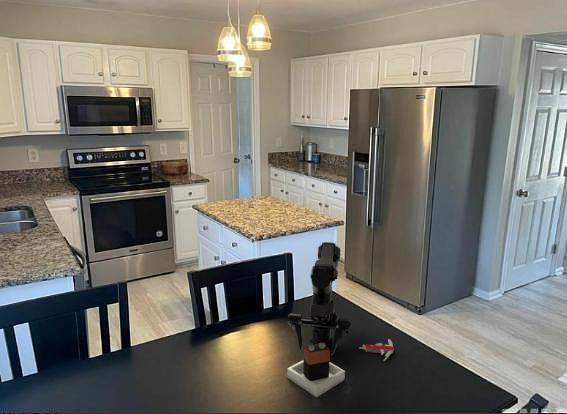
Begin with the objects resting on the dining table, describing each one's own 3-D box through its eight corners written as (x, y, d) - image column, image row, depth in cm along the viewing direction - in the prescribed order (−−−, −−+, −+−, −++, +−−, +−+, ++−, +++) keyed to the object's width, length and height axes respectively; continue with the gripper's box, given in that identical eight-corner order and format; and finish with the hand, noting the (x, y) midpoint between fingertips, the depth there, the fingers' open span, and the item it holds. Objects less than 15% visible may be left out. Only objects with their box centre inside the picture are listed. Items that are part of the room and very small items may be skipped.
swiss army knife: (360, 362, 132) (360, 357, 132) (357, 339, 146) (357, 334, 145) (396, 365, 131) (397, 359, 131) (390, 341, 145) (391, 336, 144)
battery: (329, 377, 123) (330, 347, 120) (308, 382, 120) (309, 351, 118) (323, 369, 127) (324, 339, 124) (302, 373, 124) (303, 343, 122)
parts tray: (315, 362, 132) (315, 353, 131) (344, 379, 123) (344, 370, 122) (287, 377, 124) (287, 368, 123) (316, 397, 115) (316, 387, 115)
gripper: (288, 288, 124) (281, 341, 116) (352, 294, 120) (348, 349, 112) (292, 301, 133) (286, 351, 125) (351, 307, 130) (348, 358, 121)
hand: (316, 352), depth 121 cm, fingers open, 9 cm apart
